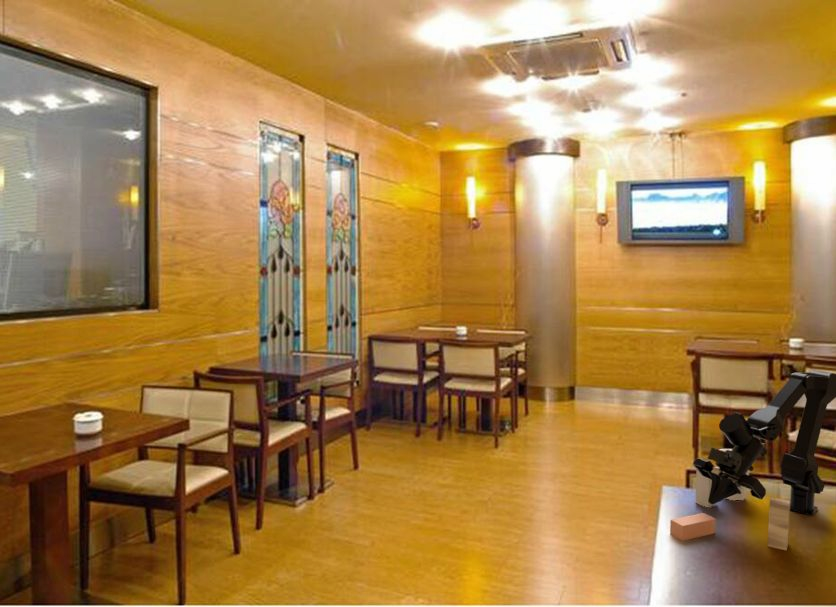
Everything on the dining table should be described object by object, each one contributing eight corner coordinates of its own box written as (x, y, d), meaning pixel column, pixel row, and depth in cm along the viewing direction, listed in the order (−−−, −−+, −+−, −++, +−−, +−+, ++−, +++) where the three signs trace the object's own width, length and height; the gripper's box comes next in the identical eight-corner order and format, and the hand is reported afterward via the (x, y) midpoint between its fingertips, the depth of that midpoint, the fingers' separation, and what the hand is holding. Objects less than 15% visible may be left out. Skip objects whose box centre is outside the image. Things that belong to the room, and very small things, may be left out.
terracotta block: (703, 512, 164) (670, 519, 160) (715, 518, 160) (682, 525, 156) (702, 527, 164) (670, 534, 160) (715, 534, 160) (682, 541, 156)
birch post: (769, 540, 156) (771, 497, 156) (787, 544, 154) (789, 500, 153) (767, 546, 153) (769, 502, 152) (786, 550, 151) (788, 506, 150)
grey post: (704, 500, 182) (705, 463, 181) (716, 505, 178) (718, 467, 177) (695, 503, 180) (696, 465, 179) (708, 508, 176) (709, 469, 175)
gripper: (699, 428, 171) (666, 472, 167) (759, 447, 154) (725, 497, 150) (719, 452, 174) (687, 497, 171) (780, 474, 157) (747, 524, 154)
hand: (710, 503), depth 161 cm, fingers closed
